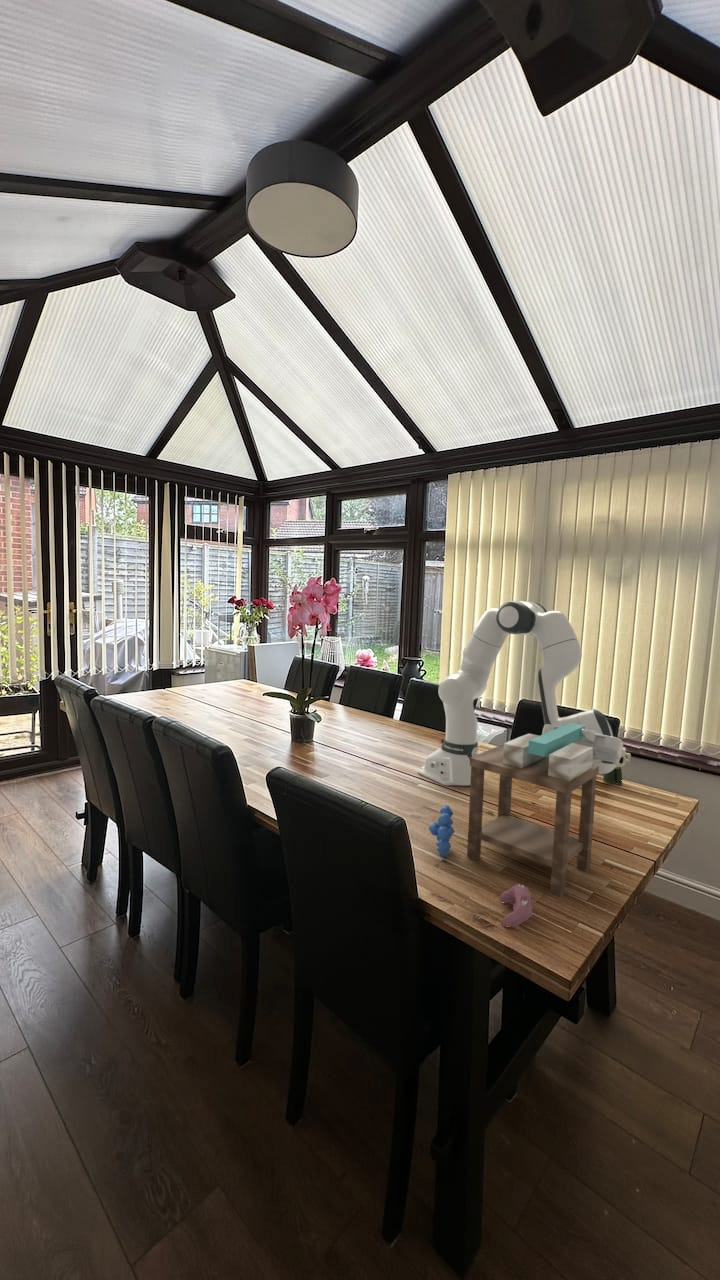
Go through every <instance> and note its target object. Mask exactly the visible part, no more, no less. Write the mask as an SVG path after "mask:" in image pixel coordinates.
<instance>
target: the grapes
mask: <svg viewBox="0 0 720 1280" xmlns="http://www.w3.org/2000/svg"><path fill="white" fill-rule="evenodd" d="M439 813H440V814H441V815H440V816H439V817H438V820H437V822H436V821H434V822H433V823H431V825H430V826H429V827H428V830H429V831H430V834H431V835H432V836H436V840H437V841H438V842H437V843H436V846H437V852H438V854H439V856H441V857H443V858H445V857H447V856H448V855H449V854H450V852H451V850H450V849H451V848H452V845H451V844H450V839H451V838H452V836H453V835H454V834H455V832H456V831H455V829H454V828H453V826H452V824H453V823H454V822H453V819H452V818H451V817H452V816H453V815H454V811H453V810H452V809H451V807H450V806H449V805H447V804H446V805H444V806H442V808H441V809H440V810H439Z"/></svg>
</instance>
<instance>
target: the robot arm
mask: <svg viewBox="0 0 720 1280" xmlns="http://www.w3.org/2000/svg"><path fill="white" fill-rule="evenodd" d="M509 635H519V636H527V635H533V636H535V638H536V640H537V642H538V643H539V647H540V649H541V650H540V651H541V652H542V665H541V667H540V669H539V670H538V674H537V680H538V689H539V697H540V703H541V709H542V710H541V711H542V715H543V717H542V718H543V728H542V733H541V735H543V734H545V733H547V732H550V731H552V730H554V729H557V728H559V727H561V726H564V725H566V724H568V723H574V724H580V725H585V730H584V729H581V732H580V736H581V737H583V738H581V739H579V740H577V741H575V742H573V743H575V744H579V745H584V746H588V747H593V756H592V765H596V766H599V772H598V775H604V774H606V773H609V772H611V771H612V770H613V769H614V768H615V767H616V764H618V763H619V760H620V758H621V754H622V749H623V747H624V741H623V740H622V739H621V738H619V737H616V736H615V735H614V731H613V728H612V725H611V723H610V721H609V719H608V718H607V717H606V715H605V714H604V713H603V712H601V711H600V710H598V709H595V708H593V709H588V710H584V711H581V712H577V713H574V714H570V715H568V716H563V717H560V716H559V711H558V704H557V699H556V689H557V686H558V685H559V683H560V682H562V681H563V680H564V679H565V678H567V677H568V676H569V675H571V674H572V673H573V672H574V671H575V670H576V669H577V667H578V666H579V665H580V663H581V662H582V656H583V653H582V649H581V646H580V642H579V639H578V637H577V635H576V633H575V631H574V628H573V626H572V624H571V622H570V621H569V619H568V618H567V616H566V614H564V613H563V612H562V611H558V610H549V611H547V609H546V608H545V607H544V606H543V605H541V604H540V603H536V602H532V601H527V600H510V601H507V602H506V601H505V602H504V603H503V604H502V605H500V606H499V607H498V608H497V607H496V608H495V607H493V608H488V609H487V610H485V611H484V613H483V614H482V615H481V617H480V618H479V620H478V621H477V623H476V624H475V626H474V628H473V630H472V632H471V634H470V636H469V638H468V640H467V642H466V644H465V647H464V648H463V651H462V659H461V665H460V667H459V669H458V671H457V672H456V673H453V674H452V673H451V674H450V675H447V676H446V677H445V678H444V679H443V680H442V681H441V682H440V683H439V685H438V690H437V691H438V696H439V698H440V700H441V701H442V703H443V709H444V713H445V737H444V738H442V739H441V740H439V742H438V744H439V745H440V744H441V746H440V747H439V748H438V749H436V750H435V751H433V752H432V753H430V754H429V755H427V757H426V759H425V763H424V765H422V766H421V767H420V768H419V769H418V771H417V772H418V774H419V775H421V776H423V777H425V778H427V779H430V780H432V781H435V782H437V783H439V784H441V785H443V786H462V787H463V786H465V787H466V786H470V783H471V766H470V758H471V757H473V756H476V755H478V754H479V753H478V752H479V751H478V750H479V747H478V746H479V742H478V718H477V717H476V714H475V709H474V708H475V707H474V700H477V699H478V698H480V697H481V696H482V695H483V694H484V692H486V689H487V687H488V684H487V683H488V680H489V677H490V675H491V671H492V668H493V665H494V663H495V662H496V661H495V660H496V659H497V657H498V655H499V653H500V651H501V649H502V647H503V645H504V642H505V641H506V639H507V637H508V636H509Z"/></svg>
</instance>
